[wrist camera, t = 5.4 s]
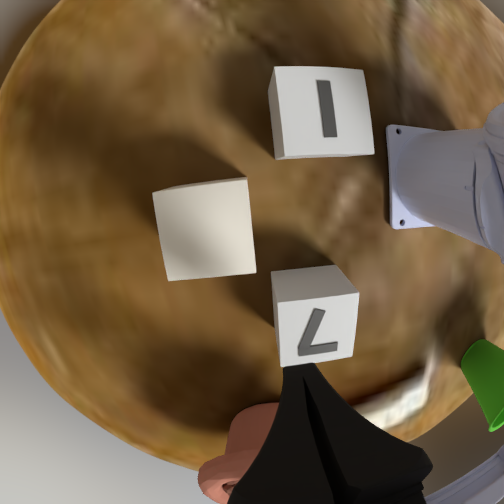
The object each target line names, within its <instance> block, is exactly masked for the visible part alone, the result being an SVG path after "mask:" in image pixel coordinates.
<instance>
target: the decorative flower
mask: <svg viewBox="0 0 504 504" xmlns="http://www.w3.org/2000/svg"><path fill="white" fill-rule="evenodd" d="M278 405H279V403H265V404H258V405H254V406H252V407H249V408H246V409H244V410H243V411H241V412H240V413H238V414H237V415H236V416H235V418H234V419H233V421H232V422H231V426H230V430H229V435H228V440H227V445H226V450H225V455H222V456H218V457H216V458H214V459H212V460H210V461H207V462H205V463H204V464H203V465H202V467H201V468H200V469H199V474H198V484H199V487H200V488H201V490H202V492H203V494H205V495H206V496H207V497H209V498H210V499H212V500H214V501H215V502H217V503H220V504H227V502H228V499H229V497H230V495H231V493H232V490H233V488H234V487H235V485H236V484H237V483H238V482H239V480H240V479H241V478H242V477H243V475H244V474H245V473H246V471H247V470H248V469H249V467H250V466H251V464H252V462H253V461H254V459H255V458H256V456H257V455H258V453H259V451H260V449H261V447H262V446H263V444H264V442H265V440H266V438H267V435H268V433H269V431H270V429H271V426H272V424H273V421H274V418H275V415H276V412H277V409H278Z"/></svg>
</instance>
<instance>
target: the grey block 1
mask: <svg viewBox="0 0 504 504" xmlns="http://www.w3.org/2000/svg"><path fill="white" fill-rule="evenodd" d="M268 98H269V107H270V115H271V124H272V133H273V143H274V153H275V160H278V159H293V158H313V157H346V156H358V155H371V154H374V142H373V133H372V124H371V116H370V108H369V101H368V95H367V89H366V83H365V78H364V73H363V70H358V69H348V68H335V67H315V66H279V67H274V70H273V73H272V77H271V81H270V84H269V88H268Z"/></svg>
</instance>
